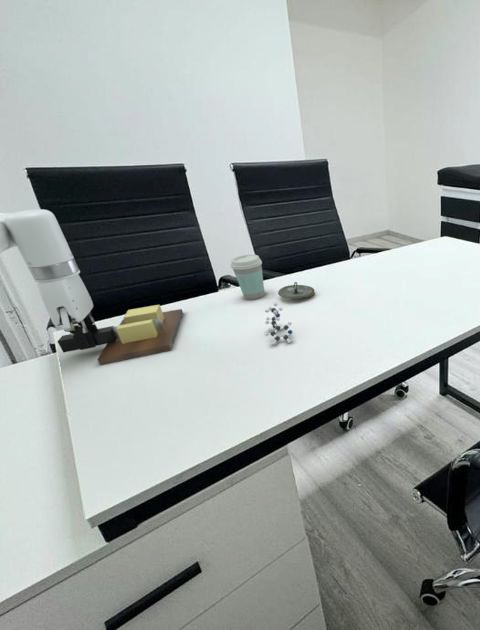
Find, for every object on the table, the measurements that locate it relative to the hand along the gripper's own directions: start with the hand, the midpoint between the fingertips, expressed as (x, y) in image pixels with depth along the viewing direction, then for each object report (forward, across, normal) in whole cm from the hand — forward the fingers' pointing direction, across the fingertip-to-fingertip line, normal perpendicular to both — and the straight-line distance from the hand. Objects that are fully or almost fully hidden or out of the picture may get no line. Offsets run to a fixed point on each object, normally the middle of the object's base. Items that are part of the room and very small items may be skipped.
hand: (90, 343), depth 90 cm
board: (+2, -3, +10) cm, 11 cm away
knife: (0, 0, +5) cm, 5 cm away
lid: (+2, -11, +48) cm, 49 cm away
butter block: (+1, -7, +10) cm, 12 cm away
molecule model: (+2, +12, +41) cm, 43 cm away
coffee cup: (+2, -18, +36) cm, 40 cm away
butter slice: (+1, +1, +10) cm, 10 cm away
